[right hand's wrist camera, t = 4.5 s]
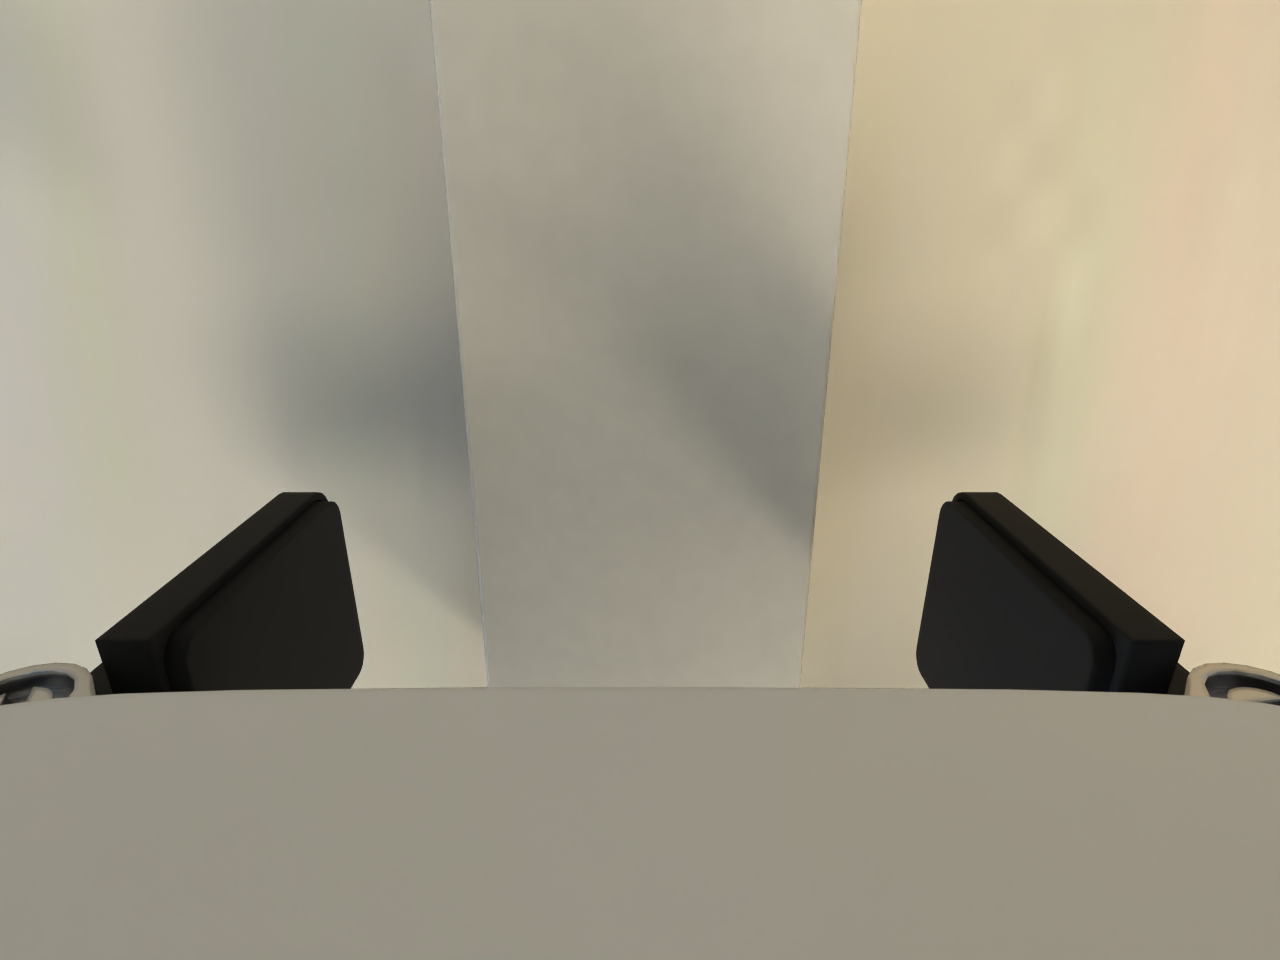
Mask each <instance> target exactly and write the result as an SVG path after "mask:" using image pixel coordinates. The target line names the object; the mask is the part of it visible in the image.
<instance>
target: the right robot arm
mask: <svg viewBox="0 0 1280 960" xmlns="http://www.w3.org/2000/svg"><path fill="white" fill-rule="evenodd" d="M95 642H96V645H97V648H98V651H99V654H100V657H101V660H102V663H101V664H100V665H99V666H98V667H96V668H95V669H94V670H93V671H92V672H91V673H90V672H89V671H88V670H87V668H84V667H82V666H79V665H76V664H70V663H50V664H41V665H33V666H29V667H25V668H21V669H17V670H13V671H9V672H6V673H3V674H0V960H1280V674H1277V673H1274V672H1271V671H1267V670H1263V669H1259V668H1255V667H1251V666H1247V665H1239V664H1230V663H1210V664H1204V665H1201V666H1198V667H1196V668H1193V670H1192V671H1191V672H1190V673H1189V672H1188V671H1187V670H1186V669H1185V668H1184V667H1182V666H1181V665H1180V664H1179V663H1178V660H1179V657H1180V654H1181V651H1182V648H1183V645H1184V642H1185V640H1184V639H1182V638H1181V637H1180V636H1179V635H1177V634H1176V633H1175V632H1174V631H1172V630H1171V629H1170V628H1169V627H1167V626H1166V625H1165V624H1164V623H1162V622H1161V621H1160V620H1159V619H1157V618H1156V617H1155V616H1153V615H1152V614H1151V613H1150V612H1148V611H1147V610H1146V609H1145V608H1143V607H1142V606H1141V605H1140V604H1138V603H1137V602H1136V601H1135V600H1133V599H1132V598H1131V597H1130V596H1128V595H1127V594H1126V593H1125V592H1123V591H1122V590H1121V589H1120V588H1118V587H1117V586H1116V585H1114V584H1113V583H1112V582H1111V581H1109V580H1108V579H1107V578H1106V577H1104V576H1103V575H1102V574H1101V573H1099V572H1098V571H1097V570H1096V569H1094V568H1093V567H1092V566H1091V565H1089V564H1088V563H1087V562H1086V561H1084V560H1083V559H1082V558H1081V557H1079V556H1078V555H1077V554H1075V553H1074V552H1073V551H1072V550H1070V549H1069V548H1068V547H1067V546H1065V545H1064V544H1063V543H1062V542H1060V541H1059V540H1058V539H1057V538H1055V537H1054V536H1053V535H1052V534H1050V533H1049V532H1048V531H1047V530H1045V529H1044V528H1043V527H1042V526H1040V525H1039V524H1038V523H1036V522H1035V521H1034V520H1033V519H1031V518H1030V517H1029V516H1028V515H1026V514H1025V513H1024V512H1023V511H1021V510H1020V509H1019V508H1018V507H1016V506H1015V505H1014V504H1013V503H1011V502H1010V501H1009V500H1008V499H1006V498H1005V497H1004V496H1003V495H1001V494H999V493H997V492H961V493H958V494H957V495H955V496H954V498H953V500H952V502H945V503H944V504H943V505H942V507H941V510H940V514H939V520H938V526H937V532H936V538H935V544H934V549H933V555H932V561H931V567H930V573H929V579H928V585H927V590H926V596H925V602H924V608H923V614H922V620H921V625H920V631H919V637H918V643H917V650H916V659H917V665H918V669H919V671H920V673H921V675H922V677H923V679H924V680H925V682H926V684H927V685H928V687H929V689H895V688H775V687H477V688H382V689H351V687H352V685H353V684H354V682H355V680H356V679H357V677H358V675H359V673H360V671H361V669H362V665H363V659H364V650H363V643H362V637H361V631H360V625H359V620H358V614H357V608H356V602H355V596H354V590H353V585H352V579H351V573H350V567H349V561H348V555H347V549H346V544H345V538H344V532H343V526H342V520H341V514H340V510H339V507H338V505H337V504H336V503H335V502H328V500H327V498H326V496H325V495H323V494H322V493H319V492H283V493H281V494H279V495H277V496H276V497H275V498H274V499H272V500H271V501H270V502H269V503H267V504H266V505H265V506H264V507H262V508H261V509H260V510H259V511H257V512H256V513H255V514H254V515H252V516H251V517H250V518H249V519H247V520H246V521H245V522H243V523H242V524H241V525H240V526H238V527H237V528H236V529H235V530H233V531H232V532H231V533H230V534H228V535H227V536H226V537H225V538H223V539H222V540H221V541H220V542H218V543H217V544H216V545H215V546H213V547H212V548H211V549H210V550H208V551H207V552H206V553H205V554H203V555H202V556H201V557H199V558H198V559H197V560H196V561H194V562H193V563H192V564H191V565H189V566H188V567H187V568H186V569H184V570H183V571H182V572H181V573H179V574H178V575H177V576H176V577H174V578H173V579H172V580H171V581H169V582H168V583H167V584H166V585H164V586H163V587H162V588H160V589H159V590H158V591H157V592H155V593H154V594H153V595H152V596H150V597H149V598H148V599H147V600H145V601H144V602H143V603H142V604H140V605H139V606H138V607H137V608H135V609H134V610H133V611H132V612H130V613H129V614H128V615H127V616H125V617H124V618H123V619H121V620H120V621H119V622H118V623H116V624H115V625H114V626H113V627H111V628H110V629H109V630H108V631H106V632H105V633H104V634H103V635H101V636H100V637H99V638H98V639H96V640H95Z"/></svg>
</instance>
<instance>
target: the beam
mask: <svg viewBox="0 0 1280 960" xmlns="http://www.w3.org/2000/svg"><path fill="white" fill-rule="evenodd" d="M861 4H862V0H430V10H431V22H432V34H433V45H434V57H435V69H436V81H437V92H438V104H439V116H440V128H441V139H442V151H443V163H444V175H445V186H446V198H447V210H448V222H449V233H450V245H451V257H452V269H453V280H454V292H455V304H456V316H457V327H458V339H459V351H460V363H461V374H462V386H463V398H464V410H465V421H466V433H467V445H468V457H469V468H470V480H471V492H472V504H473V515H474V527H475V539H476V551H477V562H478V574H479V586H480V598H481V609H482V621H483V633H484V645H485V657H486V668H487V680H488V687H775V688H800V680H801V669H802V658H803V646H804V635H805V624H806V613H807V602H808V591H809V580H810V569H811V558H812V547H813V536H814V525H815V513H816V502H817V491H818V480H819V469H820V458H821V447H822V436H823V425H824V414H825V403H826V392H827V380H828V369H829V358H830V347H831V336H832V325H833V314H834V303H835V292H836V281H837V270H838V259H839V247H840V236H841V225H842V214H843V203H844V192H845V181H846V170H847V159H848V148H849V137H850V125H851V114H852V103H853V92H854V81H855V70H856V59H857V48H858V37H859V26H860V15H861Z"/></svg>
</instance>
